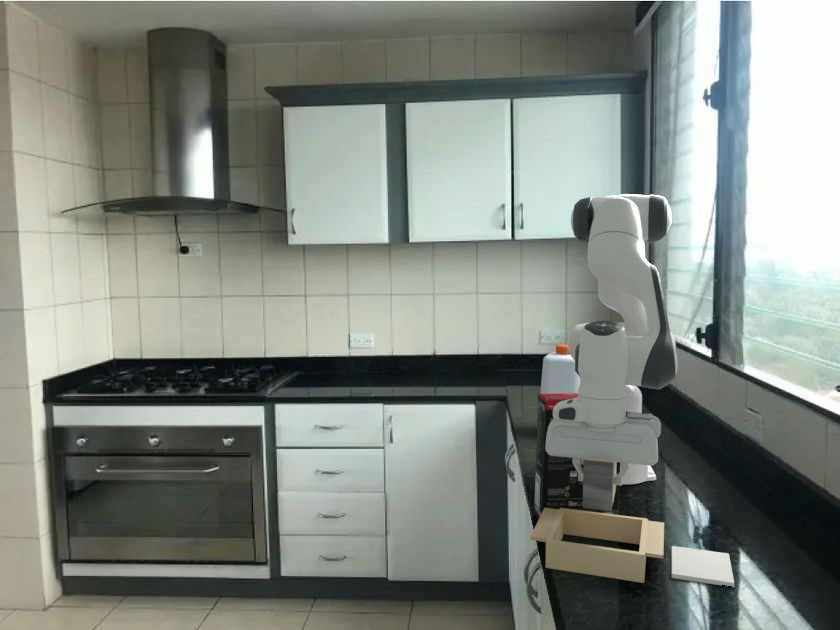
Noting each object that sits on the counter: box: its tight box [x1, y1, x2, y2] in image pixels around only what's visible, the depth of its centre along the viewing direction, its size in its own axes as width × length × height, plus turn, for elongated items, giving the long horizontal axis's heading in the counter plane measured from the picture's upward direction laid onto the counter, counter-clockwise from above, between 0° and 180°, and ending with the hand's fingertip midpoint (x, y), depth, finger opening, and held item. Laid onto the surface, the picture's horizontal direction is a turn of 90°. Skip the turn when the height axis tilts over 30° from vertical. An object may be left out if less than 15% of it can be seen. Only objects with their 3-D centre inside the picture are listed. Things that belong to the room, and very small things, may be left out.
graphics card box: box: [533, 393, 620, 520], centre depth 146 cm, size 17×7×27 cm, turn 96°
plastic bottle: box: [539, 343, 580, 394], centre depth 212 cm, size 15×15×28 cm
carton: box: [530, 508, 665, 584], centre depth 130 cm, size 17×23×5 cm
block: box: [583, 458, 617, 511], centre depth 129 cm, size 11×5×8 cm, turn 160°
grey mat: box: [671, 545, 735, 588], centre depth 125 cm, size 12×10×1 cm
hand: (600, 482), depth 129 cm, fingers closed on block, 5 cm apart
